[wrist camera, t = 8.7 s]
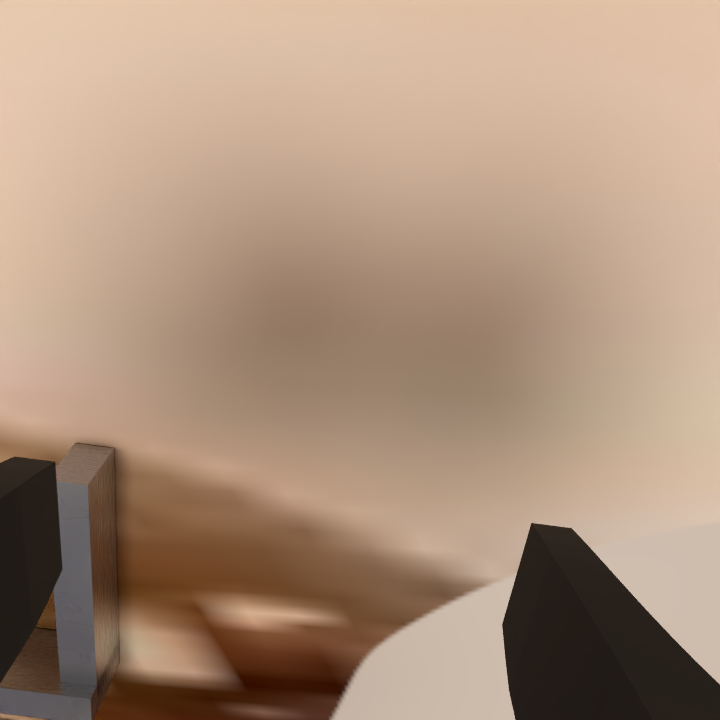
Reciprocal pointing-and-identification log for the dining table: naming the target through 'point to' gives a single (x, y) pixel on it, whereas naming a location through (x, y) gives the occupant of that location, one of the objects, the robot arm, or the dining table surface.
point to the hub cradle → (75, 601)
